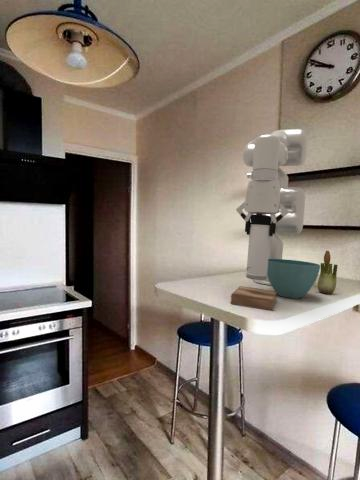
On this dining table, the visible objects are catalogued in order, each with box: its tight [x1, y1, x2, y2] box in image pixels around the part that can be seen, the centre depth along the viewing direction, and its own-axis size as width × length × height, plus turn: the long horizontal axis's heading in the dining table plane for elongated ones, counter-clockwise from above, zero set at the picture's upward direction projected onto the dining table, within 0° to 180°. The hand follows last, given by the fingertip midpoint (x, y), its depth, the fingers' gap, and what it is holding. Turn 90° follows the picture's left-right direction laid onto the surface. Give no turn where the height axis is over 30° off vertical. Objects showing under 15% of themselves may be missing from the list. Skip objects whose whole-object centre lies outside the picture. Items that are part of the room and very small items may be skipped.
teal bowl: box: [267, 258, 321, 299], centre depth 103 cm, size 18×18×12 cm
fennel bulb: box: [317, 262, 338, 295], centre depth 111 cm, size 6×5×12 cm
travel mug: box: [245, 214, 271, 280], centre depth 90 cm, size 6×7×20 cm
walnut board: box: [230, 285, 277, 312], centre depth 90 cm, size 14×12×3 cm
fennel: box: [314, 250, 337, 289], centre depth 125 cm, size 8×8×16 cm
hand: (259, 234), depth 89 cm, fingers closed on travel mug, 6 cm apart
